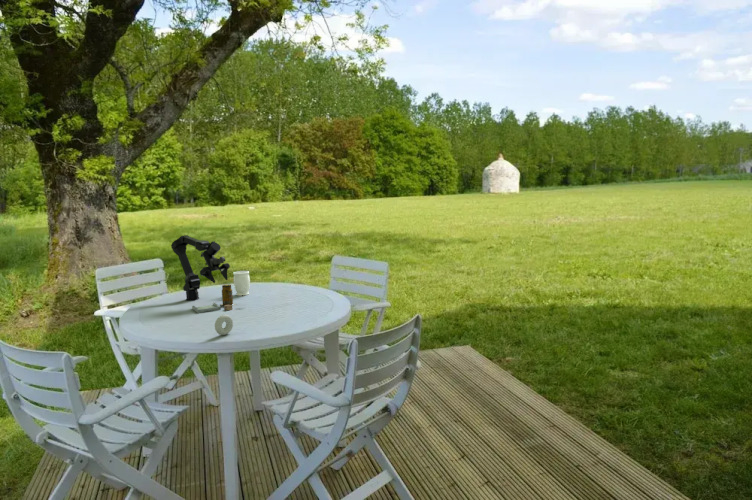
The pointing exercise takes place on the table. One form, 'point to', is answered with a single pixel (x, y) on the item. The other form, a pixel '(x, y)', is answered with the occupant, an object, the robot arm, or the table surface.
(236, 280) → the jar
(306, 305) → the table surface
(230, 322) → the donut
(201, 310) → the holder
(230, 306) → the tan block
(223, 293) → the condiment
